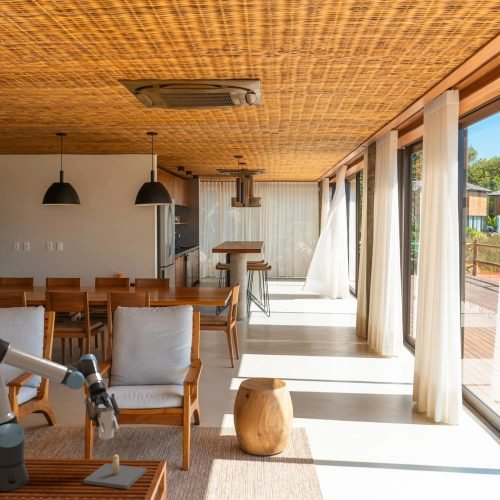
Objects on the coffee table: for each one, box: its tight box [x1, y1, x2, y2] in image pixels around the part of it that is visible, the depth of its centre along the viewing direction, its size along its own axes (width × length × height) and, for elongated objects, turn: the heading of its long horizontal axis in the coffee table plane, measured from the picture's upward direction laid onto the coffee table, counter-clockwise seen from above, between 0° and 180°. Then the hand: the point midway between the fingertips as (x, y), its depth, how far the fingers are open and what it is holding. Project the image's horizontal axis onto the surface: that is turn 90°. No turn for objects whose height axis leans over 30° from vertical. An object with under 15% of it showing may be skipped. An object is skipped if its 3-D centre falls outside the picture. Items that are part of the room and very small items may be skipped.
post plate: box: [83, 454, 148, 490], centre depth 242 cm, size 20×18×10 cm
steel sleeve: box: [98, 407, 115, 440], centre depth 250 cm, size 6×6×12 cm
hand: (109, 431), depth 247 cm, fingers closed on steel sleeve, 6 cm apart
